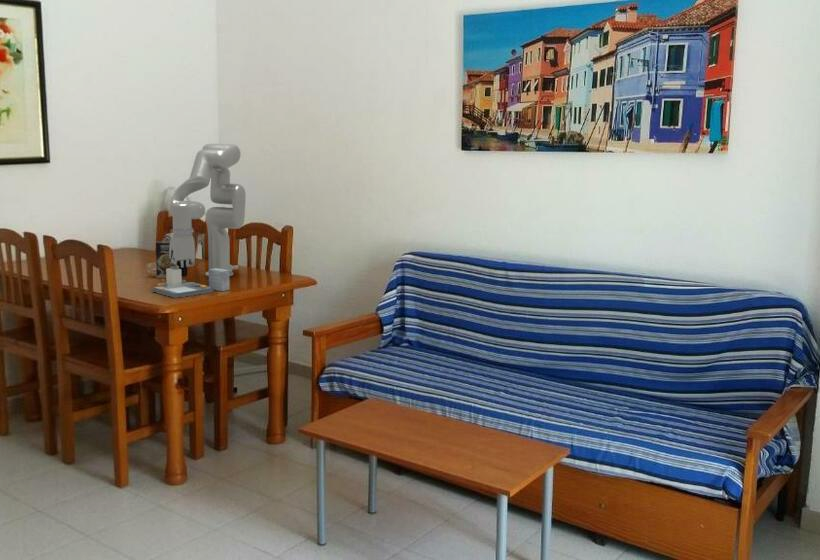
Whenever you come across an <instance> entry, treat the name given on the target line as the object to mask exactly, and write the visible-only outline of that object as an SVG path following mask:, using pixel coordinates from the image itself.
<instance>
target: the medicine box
mask: <svg viewBox="0 0 820 560" xmlns="http://www.w3.org/2000/svg"><path fill="white" fill-rule="evenodd" d="M208 271H209V276H208V287H212V288H213V291H220V292H226V290H227V291H229V290H230V276H229V270H225V269H218V268H214V269H210V270H209V269H208Z"/></svg>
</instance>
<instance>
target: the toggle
mask: <svg viewBox="0 0 820 560" xmlns="http://www.w3.org/2000/svg"><path fill="white" fill-rule="evenodd" d="M182 278H183V277H182V276H181V269H179V268H177V267H173V266H171V267H170V268H168V269H166V278H165V279H166V282H167V285H168V286H171V285H178V284H182V280H183V279H182Z"/></svg>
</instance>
